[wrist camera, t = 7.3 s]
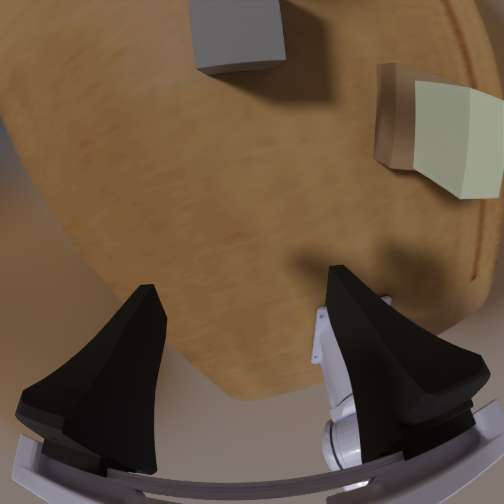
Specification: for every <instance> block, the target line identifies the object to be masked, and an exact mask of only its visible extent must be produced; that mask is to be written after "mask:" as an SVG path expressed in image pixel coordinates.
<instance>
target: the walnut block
mask: <svg viewBox="0 0 504 504" xmlns="http://www.w3.org/2000/svg"><path fill="white" fill-rule="evenodd" d="M415 81H426V82H435V83H443V84H450V85H456V86H462V87H465V86H463V85H460V84H458V83H456V82H453V81H450V80H448V79H445V78H443V77H440V76H437V75H434V74H431V73H428V72H425V71H422V70H419V69H416V68H412V67H409V66H405V65H401V64H398V63H390V64H378V65H377V109H376V128H375V142H374V154H373V158H374V159H376V160H378V161H379V162H381V163H382V164H384V165H386V166H387V167H389V168H391V169H404V170H415V169H413V161H414V147H415V121H416V99H415ZM415 171H417V170H415Z"/></svg>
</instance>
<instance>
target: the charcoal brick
mask: <svg viewBox="0 0 504 504" xmlns="http://www.w3.org/2000/svg"><path fill="white" fill-rule="evenodd" d="M188 1H189V12H190V21H191V30H192V39H193V48H194V56H195V65H196V69H197V70H199V71H201V72H202V73H204V74H206V75H207V76H208V75H215V74H222V73H230V72H239V71H249V70H263V69H273V68H275V67H276V66H278V65H279V64H281V63H282V62H284V61H285V60H286V55H285V45H284V37H283V28H282V20H281V13H280V6H279V0H188Z"/></svg>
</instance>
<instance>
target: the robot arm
mask: <svg viewBox="0 0 504 504" xmlns="http://www.w3.org/2000/svg"><path fill="white" fill-rule="evenodd" d="M391 301H392V299H391V297H390V296H385V297H379V296H378V295H376V294H375V293H374V292H373V291H372V290H371V289H370V288H368V287H367V286H366V285H365V284H364V283H363V282H362V281H361V280H360V279H359V278H357V277H356V276H355V275H354V274H353V273H352V272H351V271H350V270H349V269H348V268H347V267H345V266H344V265H337V266H329V274H328V284H327V293H326V301H325V304H326V306H325V307H320V308H319V309H318V310H317V315H316V324H315V333H314V341H313V349H312V357H311V362H312V363H313V364H317V363H320V364H321V368H322V373H323V377H324V381H325V385H326V389H327V393H328V398H329V401H330V404H331V406H332V408H333V409H331V410H330V412H331V417H332V419H331V420H329V421H328V422H327V423H326V425H325V428H324V431H323V433H322V449H323V453H324V457H325V459H326V462H327V464H328V466H329V467H330V469H331V470H332V471H333V472H328V473H323V474H318V475H313V476H307V477H301V478H293V479H286V480H276V481H265V482H249V483H205V482H189V481H178V480H169V479H161V478H155V477H147V476H142V475H137V474H131V473H128V472H132V473H142V474H148V475H152V474H154V473H155V472H156V471H157V464H156V454H155V441H154V404H155V390H156V383H157V377H158V372H159V368H160V362H161V358H162V353H163V348H164V344H165V339H166V329H167V316H166V314H165V311H164V309H163V306H162V304H161V302H160V299H159V297H158V294H157V292H156V289H155V287H154V284H146V285H140V286H139V287H138V288H137V289H136V290H135V292H134V293H133V294H132V295H131V296H130V297H129V298H128V300H127V301H126V302H125V303H124V304H123V306H122V307H121V308H120V309H119V310H118V311H117V313H116V314H115V315H114V316H113V317H112V318H111V320H110V321H109V322H108V323H107V324H106V325H105V326H104V327H103V328H102V330H101V331H100V332H99V333H98V334H97V335H96V336H95V337H94V338H93V339H92V340H91V341H90V342H89V343H88V344H87V345H86V346H85V347H84V348H83V349H82V350H81V351H79V352H78V353H77V354H76V355H75V356H74V357H72V358H71V359H70V360H69V361H67V362H66V363H65V364H64V365H63V366H61V367H60V368H59V369H57V370H56V371H54V372H53V373H52V374H50V375H49V376H47V377H46V378H44V379H42V380H41V381H39V382H37V383H36V384H34V385H32V386H30V387H28V388H27V389H25V390H23V392H22V395H21V398H20V401H19V404H18V407H17V410H16V413H15V416H16V418H17V419H18V420H19V421H20V422H21V423H23V424H24V425H26V426H27V427H28V428H30V429H31V430H32V431H34V432H35V433H37V434H38V435H40V436H41V437H43V438H44V443H41V442H39V441H37V440H35V439H33V438H31V437H29V436H27V435H24V434H21V436H20V440H19V443H18V447H17V452H16V456H15V461H14V466H13V471H12V479H13V480H15V481H16V482H18V483H19V484H21V485H22V486H24V487H25V488H27V489H28V490H30V491H31V492H33V493H34V494H36V495H37V496H39V497H40V498H42V499H44V500H45V501H47V502H48V503H50V504H180V503H174V502H169V501H164V500H158V499H153V498H147V497H146V496H145V494H144V493H143V492H147V493H153V494H158V495H165V496H173V497H181V498H192V499H205V500H259V499H272V498H282V497H291V496H298V495H305V494H311V493H317V492H321V491H327V490H331V489H335V488H340V487H343V488H344V489H345V492H341V493H338V494H335V495H333V496H329V497H327V498H326V501H327V504H440V503H442V502H443V501H445V500H446V499H447V498H449V497H451V496H452V495H454V494H455V493H457V492H458V491H459V490H461V489H462V488H463V487H465V486H466V485H468V484H469V483H470V482H471V481H473V480H474V479H475V478H476V477H478V476H479V475H480V474H482V473H483V472H484V471H485V470H487V469H488V468H489V467H490V466H491V465H493V464H494V463H495V462H496V461H498V459H500V458H501V457H502V456H503V455H504V414H503V411H502V409H501V407H500V404H499V402H498V400H497V399H494V400H493V401H491V402H490V403H488V404H487V405H485V406H484V407H482V408H481V409H479V410H478V411H476V412H475V413H473V414H472V412H471V410H470V409H471V408H472V407H473V402H472V400H471V398H472V397H473V396H474V395H475V394H476V393H477V392H478V391H479V390H480V389H481V388H482V387H483V386H484V385H485V384H486V383H487V381H488V380H489V378H490V371H489V369H488V367H487V365H486V364H485V362H484V360H483V358H482V357H481V355H479V354H476V353H474V352H471V351H468V350H465V349H462V348H460V347H458V346H455V345H453V344H451V343H449V342H447V341H445V340H443V339H441V338H439V337H437V336H435V335H433V334H431V333H430V332H428V331H426V330H424V329H423V328H421V327H419V326H418V325H416V324H415V323H413V322H412V321H410V320H409V319H407V318H406V317H404V316H403V315H402V314H400V313H399V312H397V311H396V310H395V309H394V308H392V307H391V306H390V304H391ZM321 315H322V316H321ZM141 491H142V492H141Z"/></svg>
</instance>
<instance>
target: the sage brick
mask: <svg viewBox="0 0 504 504" xmlns="http://www.w3.org/2000/svg"><path fill="white" fill-rule="evenodd" d="M415 99H416V121H415V147H414V161H413V169H415V170H417V171H418V172H420V173H422V174H423V175H425V176H426V177H428V178H429V179H431V180H433V181H434V182H436V183H437V184H439V185H440V186H442V187H443V188H445V189H446V190H448V191H449V192H450V193H452V194H453V195H455V196H456V197H458V198H459V199H479V198H498V196H499V192H500V187H501V182H502V176H503V171H504V101H503V100H500V99H498V98H496V97H493V96H491V95H488V94H485V93H483V92H480V91H477V90H474V89H472V88H468V87H462V86H456V85H450V84H443V83H435V82H426V81H415Z"/></svg>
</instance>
